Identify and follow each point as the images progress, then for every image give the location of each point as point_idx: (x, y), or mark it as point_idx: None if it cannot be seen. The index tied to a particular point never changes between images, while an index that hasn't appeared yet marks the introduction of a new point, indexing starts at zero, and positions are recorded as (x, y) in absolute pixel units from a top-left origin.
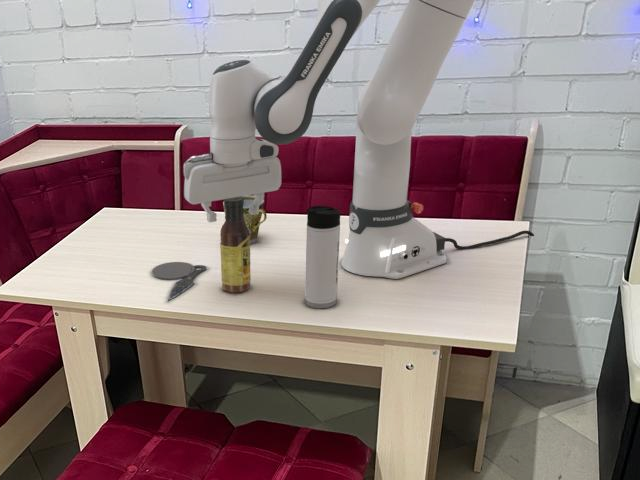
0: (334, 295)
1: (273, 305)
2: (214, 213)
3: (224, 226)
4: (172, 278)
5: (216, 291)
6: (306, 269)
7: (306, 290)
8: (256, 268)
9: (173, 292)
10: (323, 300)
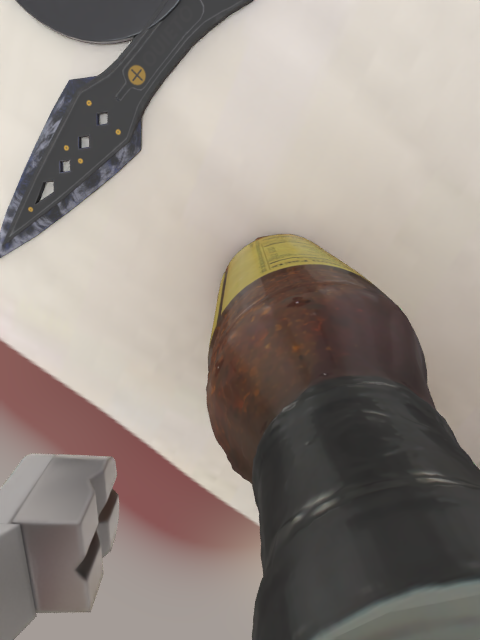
0: None
1: None
2: (67, 599)
3: (232, 432)
4: (57, 30)
5: (198, 271)
6: None
7: None
8: (466, 126)
9: (25, 204)
10: None
